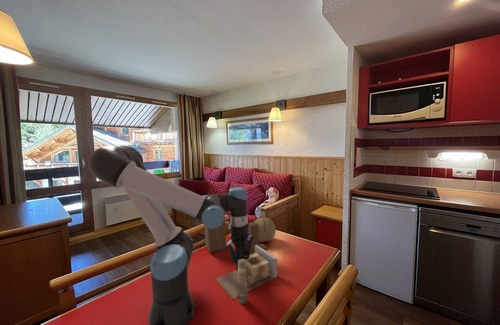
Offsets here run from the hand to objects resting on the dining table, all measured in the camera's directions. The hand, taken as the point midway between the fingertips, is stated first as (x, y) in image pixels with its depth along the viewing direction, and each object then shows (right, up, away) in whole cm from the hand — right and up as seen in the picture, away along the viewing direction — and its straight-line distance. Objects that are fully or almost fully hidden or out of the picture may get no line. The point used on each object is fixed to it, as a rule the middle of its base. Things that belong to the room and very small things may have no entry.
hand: (241, 276), depth 90 cm
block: (-16, -1, +30) cm, 35 cm away
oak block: (+6, -2, +4) cm, 8 cm away
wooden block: (+8, -1, +22) cm, 23 cm away
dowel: (+1, -4, -11) cm, 11 cm away
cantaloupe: (+13, +1, +38) cm, 40 cm away
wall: (+11, -2, +9) cm, 14 cm away
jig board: (+3, -2, +3) cm, 5 cm away
